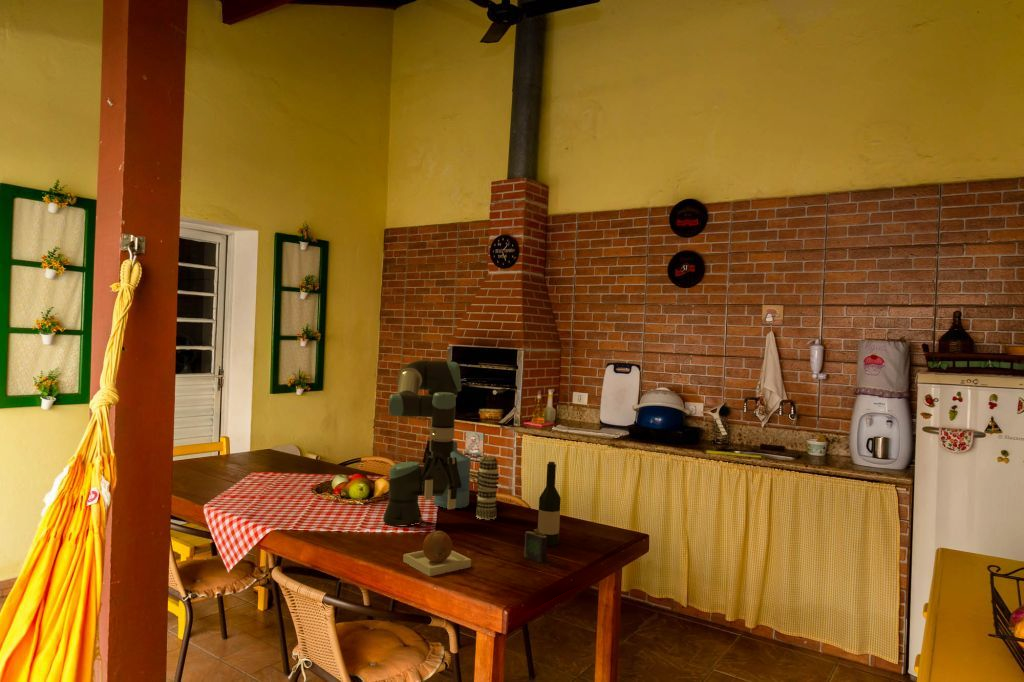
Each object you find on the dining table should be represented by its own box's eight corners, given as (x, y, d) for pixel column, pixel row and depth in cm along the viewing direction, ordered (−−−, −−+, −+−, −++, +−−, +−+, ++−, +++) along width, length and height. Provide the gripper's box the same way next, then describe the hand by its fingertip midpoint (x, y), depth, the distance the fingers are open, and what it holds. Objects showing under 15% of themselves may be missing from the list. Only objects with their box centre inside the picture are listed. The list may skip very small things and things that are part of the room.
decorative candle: (472, 519, 283) (475, 458, 282) (477, 513, 292) (480, 454, 291) (494, 521, 281) (497, 460, 281) (499, 515, 290) (501, 456, 290)
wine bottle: (562, 542, 257) (566, 462, 257) (552, 547, 250) (556, 465, 250) (543, 537, 261) (547, 459, 261) (532, 543, 254) (536, 462, 254)
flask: (522, 557, 238) (524, 526, 237) (527, 555, 240) (529, 525, 240) (542, 564, 231) (544, 532, 231) (548, 562, 234) (550, 531, 233)
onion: (444, 554, 233) (446, 525, 233) (456, 564, 224) (457, 533, 224) (417, 558, 229) (419, 528, 229) (428, 567, 220) (429, 536, 220)
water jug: (432, 500, 310) (435, 438, 310) (466, 500, 313) (469, 439, 313) (434, 509, 295) (437, 444, 295) (471, 509, 298) (473, 445, 297)
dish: (403, 561, 227) (403, 554, 227) (443, 553, 238) (443, 546, 238) (429, 576, 215) (429, 568, 215) (470, 566, 225) (471, 559, 225)
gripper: (412, 434, 233) (409, 496, 234) (454, 446, 214) (451, 514, 214) (431, 433, 238) (428, 494, 238) (474, 445, 219) (471, 511, 219)
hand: (439, 503), depth 226 cm, fingers open, 13 cm apart
